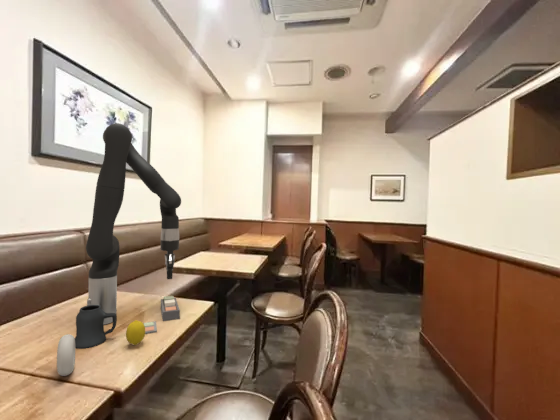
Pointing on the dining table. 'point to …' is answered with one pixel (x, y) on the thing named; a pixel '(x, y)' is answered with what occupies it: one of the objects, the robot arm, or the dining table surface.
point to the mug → (92, 326)
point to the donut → (66, 355)
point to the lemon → (135, 332)
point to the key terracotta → (170, 308)
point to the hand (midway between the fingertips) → (169, 278)
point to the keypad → (170, 312)
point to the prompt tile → (150, 327)
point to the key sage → (168, 298)
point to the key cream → (169, 303)
